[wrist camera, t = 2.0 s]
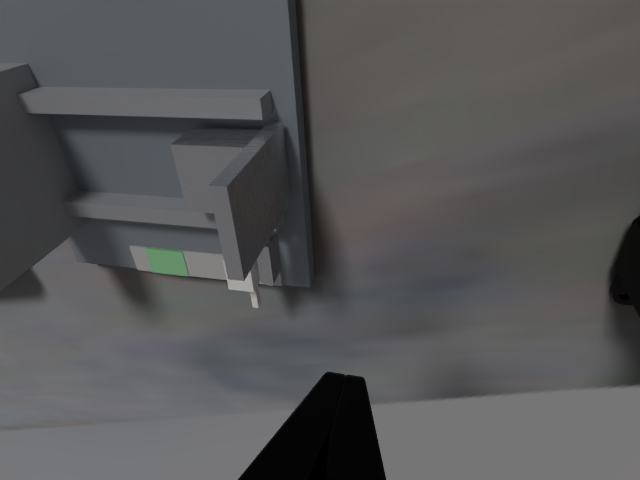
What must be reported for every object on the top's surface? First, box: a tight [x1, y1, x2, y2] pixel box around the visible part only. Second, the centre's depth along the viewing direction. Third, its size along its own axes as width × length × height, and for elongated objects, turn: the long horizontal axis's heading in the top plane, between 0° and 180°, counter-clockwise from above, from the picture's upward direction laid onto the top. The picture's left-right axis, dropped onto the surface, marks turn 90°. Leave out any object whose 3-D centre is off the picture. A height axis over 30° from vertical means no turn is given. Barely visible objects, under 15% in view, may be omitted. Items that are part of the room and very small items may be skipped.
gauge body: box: [0, 0, 315, 292], centre depth 18 cm, size 14×14×7 cm
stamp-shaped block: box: [223, 260, 261, 308], centre depth 21 cm, size 1×4×3 cm, turn 3°
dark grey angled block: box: [170, 122, 291, 285], centre depth 18 cm, size 4×6×6 cm, turn 3°
